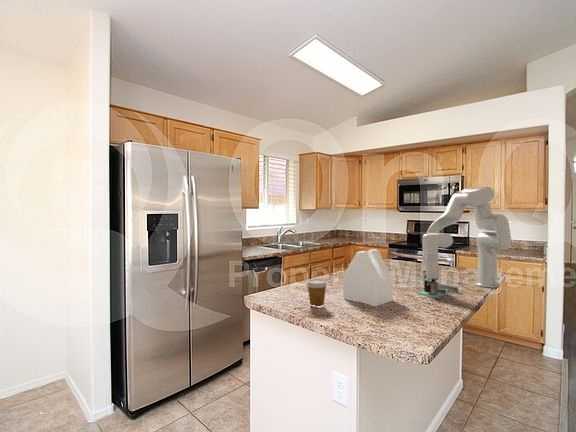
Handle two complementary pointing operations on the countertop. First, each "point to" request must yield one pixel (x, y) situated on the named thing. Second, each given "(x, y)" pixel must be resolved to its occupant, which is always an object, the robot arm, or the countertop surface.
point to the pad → (430, 294)
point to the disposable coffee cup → (316, 291)
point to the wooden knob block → (433, 287)
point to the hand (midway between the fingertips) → (430, 290)
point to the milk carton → (368, 279)
